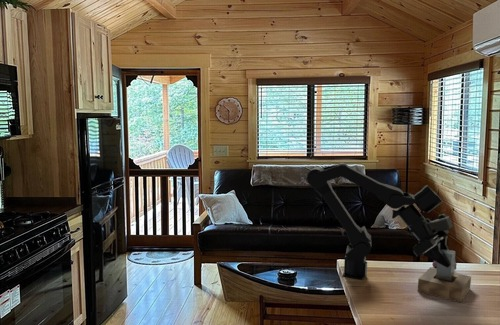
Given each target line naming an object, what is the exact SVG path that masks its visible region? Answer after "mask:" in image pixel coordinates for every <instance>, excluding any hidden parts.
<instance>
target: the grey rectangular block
mask: <svg viewBox="0 0 500 325" xmlns="http://www.w3.org/2000/svg"><path fill="white" fill-rule="evenodd" d="M440 250H441V252H442V253H443V255H444V256H445V258H446V259H447V261H448V263H449V264H450V266H449V267H445V266H443V265H441V264H439V263H438V262H437V267H436V269H437V272H436V279H439V280H443V281H447V282H451V283H453V279H454V273H455V270H454V264H455V262H456V251H455V250H451V249H449V250H447V249H440Z"/></svg>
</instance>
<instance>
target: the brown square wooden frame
mask: <svg viewBox="0 0 500 325" xmlns="http://www.w3.org/2000/svg"><path fill="white" fill-rule="evenodd" d="M436 272H437V267H429V268H428V269H427V270H426V271H425V272H424V273H422V274H421V276H419V278H418V279H417V280H418V282H417V292H419V293H422V294H425V295H429V296H430V295H431V296H434V297H437V298H438V297H439V298H441V299H445V300H449V301H452V302H453V301H454V302H457V303H460V304H461V303H462V301H463V300H464V298H466V296H467V294H468V293H469V291H470V290H471V284H472V283H471V282H472V275H471V276H470V275H466V274H463V273H462V274H461V273H457V272H454V279H453V283H451V282H447V281H443V280H439V279H436Z"/></svg>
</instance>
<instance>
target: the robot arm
mask: <svg viewBox="0 0 500 325" xmlns="http://www.w3.org/2000/svg"><path fill="white" fill-rule="evenodd" d="M341 177H342V178H344V179H346V180H347V181H349V182H351V183H352V184H355V185H357V186H359V187H360V188H362V189H364V190H366V191H369V193H372V194H374V195H375V196H376V197H377V198H378V199H379V200H380V201H381V202H383V204H385V205H386V206H388V207H389V208H391V209H392V216H391V218H392V220H393V219H396V218H397V217H399V218H400V219H401V220H402V222H403V223H404V224H405V225H406V226H407V228H408V229H409V230H408V233H409V234H413V236H414V237H415V238H416V239H417V240H418V241H417V244H415V245H414V246H413V247H412V252H413V254H414V255H415V256H416V257H419V256H422V257H426V258H428V259H430V260H432V261H433V262H434V261H436V262H438V263H439V264H441V265H443V266H445V267H449V266H450V264H449V263H448V261H447V259H446V258H445V256H444V255H443V253H442V252H441V250H440V249H447V250H450V249H449V246H448V244H447V243H448V237H449V236H448V234H449V233H450V231H449V230H451V228H453V227H454V226H453V224H452V218H450V216H448V215H446V213H443V214H439V215H438V217H437V218H436V219H434V220H431V219H430V218H428V217H426V218H425V217H424V215H423V214H422V213H430V212H431V211H433V210H434V209H435V208H437V207H438V206H439V205H441V204H442V203H443V202H444V201H443V200H442V199H441V197H440V196H439V195H438V194H437V193H436V192H435V191H434V190H433V189H432V188H431V187H430V186H429V185H427V184H426V185H424V186H423V187H422V189H420V190H419V191H418V192H416V193H415V194H412V193H408V192H404V191H403V190H402V189H401V188H400V187H396V186H393V185H390V184H386V183H383V182H379V181H378V180H376V179H374V178H372V177H370V176H368V175H366V174H365V173H362V172H361V171H359V170H357V169H355V168H353V167H351V166H350V165H348V164H347V163H345V162H340V163H338V164H335V165H330V166H324V167H320V166H315V167H313V168H311V169H310V171H308V173H307V175H306V181H307V183H308V185H310V187H311V188H312V189H313V190H314V191H315V192H316V193H318V194H319V196H321V197H322V198H323V200H324V201H325V202H326V204H327V205H328V207H329V209H330V210H331V212H332V213H333V214H334V216H335V218H336V219H337V220H338V222H339V223H340V225H341V227H342V228H343V230H344V231H345V233H346V235H347V238H348V242H349V244H348V245H347V246H346V250H345V256H344V266H343V267H344V268H343V273H342V277H345V278H353V279H356V280H363V279H364V278H365V277H366V275H367V272H368V261H367V258H366V257H367V255H369V254H370V252H371V250H372V235H371V234H370V233H369V232H368V231H367V228H366V226H365V225H363V226H362V227H360V226H359V225H358V224H357V223H356V222H355V221H354V219H353V217H352V216H351V214H350V212H348V210H347V208H346V207H345V205H344V204H343V202H342V201H341V199H340V198H339V197H338V195H337V194H336V192H335V191H334V189H333V187H332V183H331V180H334V179H335V180H336V179H338V178H341ZM415 205H416V206H415ZM419 210H420V211H421V212H422V213H421V212H420V211H419Z"/></svg>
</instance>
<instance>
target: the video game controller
mask: <svg viewBox="0 0 500 325" xmlns="http://www.w3.org/2000/svg"><path fill="white" fill-rule="evenodd" d="M456 262H457V261H455V264H454V271H456V270H457V266H458V265H457V263H456ZM431 265H432V268H437V262H436V261H434V260H433V262H432V264H431Z"/></svg>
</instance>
